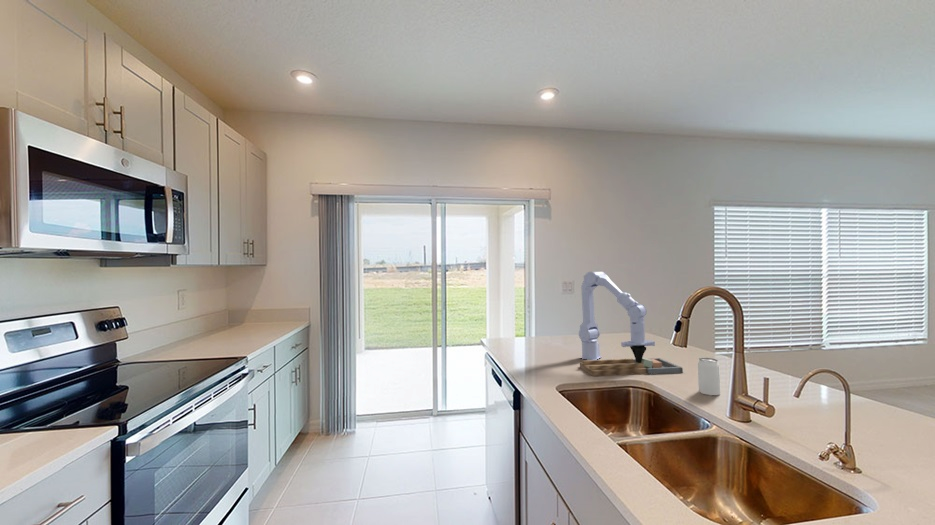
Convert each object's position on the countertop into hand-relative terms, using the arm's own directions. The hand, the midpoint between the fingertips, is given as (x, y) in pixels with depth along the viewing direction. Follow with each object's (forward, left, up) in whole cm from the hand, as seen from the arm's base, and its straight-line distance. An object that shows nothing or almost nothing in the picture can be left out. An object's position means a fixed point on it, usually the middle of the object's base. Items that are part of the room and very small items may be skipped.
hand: (638, 362), depth 163 cm
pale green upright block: (-2, +2, -1) cm, 3 cm away
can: (+17, +29, -3) cm, 34 cm away
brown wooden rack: (+9, -9, -3) cm, 13 cm away
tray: (-5, +5, -3) cm, 8 cm away
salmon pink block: (-5, +5, -3) cm, 7 cm away
